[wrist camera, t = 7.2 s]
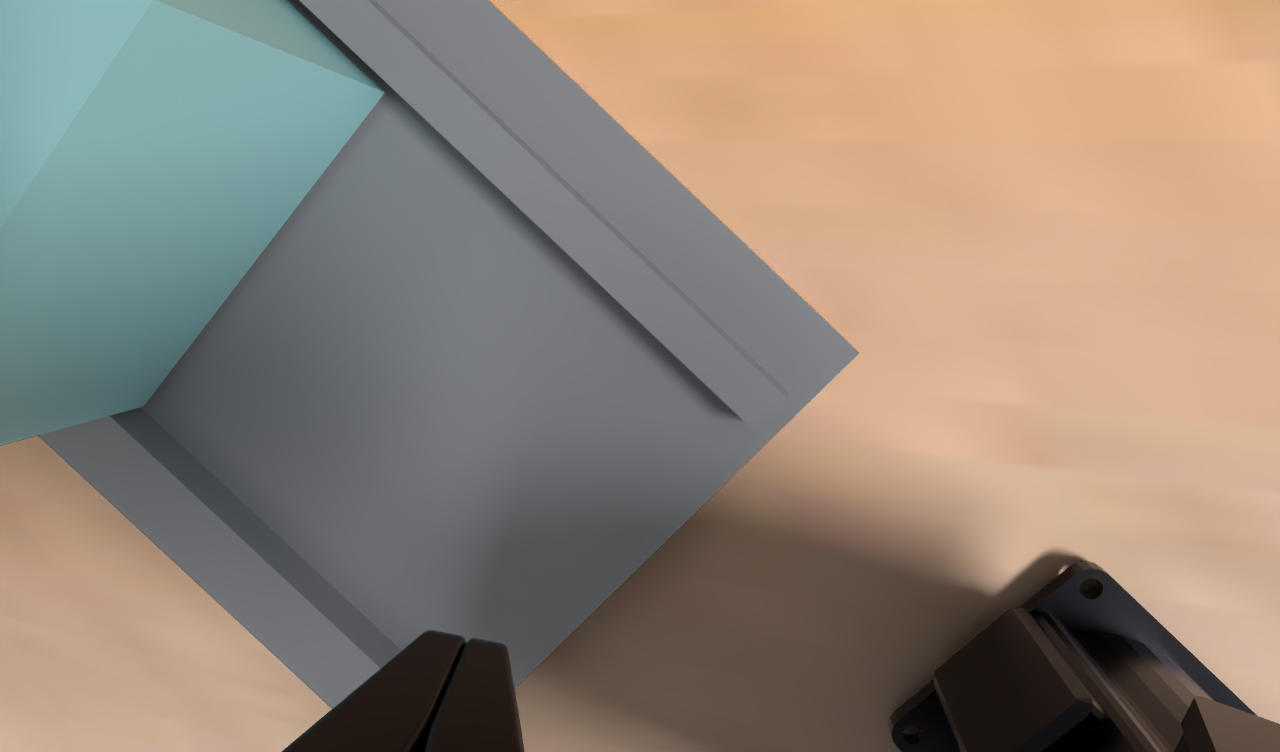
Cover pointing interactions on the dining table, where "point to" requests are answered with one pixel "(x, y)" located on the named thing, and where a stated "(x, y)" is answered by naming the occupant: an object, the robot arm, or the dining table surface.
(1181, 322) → the dining table surface
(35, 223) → the dowel block
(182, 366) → the track
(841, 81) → the dining table surface
